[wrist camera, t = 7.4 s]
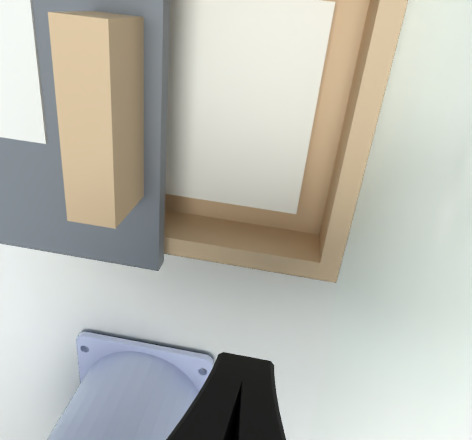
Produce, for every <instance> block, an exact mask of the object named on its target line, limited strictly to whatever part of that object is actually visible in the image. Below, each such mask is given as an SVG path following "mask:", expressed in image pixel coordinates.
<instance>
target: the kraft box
mask: <svg viewBox="0 0 472 440" xmlns="http://www.w3.org/2000/svg"><path fill="white" fill-rule="evenodd" d="M407 2H408V0H170V22H169V62H168V102H167V142H166V183H165V223H164V254H169V255H175V256H181V257H187V258H193V259H199V260H205V261H211V262H216V263H222V264H228V265H234V266H240V267H246V268H252V269H258V270H264V271H270V272H275V273H281V274H287V275H293V276H299V277H305V278H311V279H317V280H323V281H329V282H334V283H336V282H337V278H338V274H339V270H340V266H341V262H342V258H343V254H344V250H345V247H346V243H347V239H348V235H349V231H350V227H351V223H352V219H353V215H354V211H355V207H356V203H357V199H358V195H359V191H360V187H361V184H362V180H363V176H364V172H365V168H366V164H367V160H368V156H369V152H370V148H371V144H372V140H373V136H374V132H375V128H376V124H377V121H378V117H379V113H380V109H381V105H382V101H383V97H384V93H385V89H386V85H387V81H388V77H389V73H390V69H391V65H392V62H393V58H394V54H395V50H396V46H397V42H398V38H399V34H400V30H401V26H402V22H403V18H404V14H405V10H406V6H407Z"/></svg>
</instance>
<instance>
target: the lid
mask: <svg viewBox="0 0 472 440" xmlns="http://www.w3.org/2000/svg"><path fill="white" fill-rule="evenodd" d="M169 22H170V0H0V243H1V244H6V245H12V246H18V247H24V248H29V249H35V250H41V251H47V252H52V253H58V254H64V255H70V256H75V257H81V258H87V259H93V260H98V261H104V262H110V263H116V264H122V265H127V266H133V267H139V268H145V269H150V270H156V271H158V270H159V269H160V267H161V265H162V263H163V262H164V223H165V183H166V142H167V102H168V62H169Z"/></svg>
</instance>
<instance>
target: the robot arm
mask: <svg viewBox="0 0 472 440" xmlns="http://www.w3.org/2000/svg"><path fill="white" fill-rule="evenodd" d="M76 343H77V353H78V364H79V374H80V386H79V387H78V389H77V391H76V392H75V394H74V396H73V397H72V399H71V401H70V402H69V404H68V406H67V407H66V409H65V410H64V412H63V414H62V415H61V417H60V419H59V420H58V422H57V424H56V425H55V427H54V429H53V430H52V432H51V434H50V435H49V437H48V439H47V440H286V438H285V434H284V430H283V425H282V421H281V417H280V412H279V406H278V401H277V395H276V388H275V378H274V365H273V364H272V362H271V361H267V360H262V359H256V358H251V357H246V356H241V355H235V354H230V353H225V352H223V353H221V354H219V355H218V357H217V359H216V362H215V364H214V366H213V359H212V358H211V357H210V356H209V355H206V354H201V353H196V352H190V351H185V350H180V349H174V348H169V347H164V346H159V345H153V344H148V343H143V342H138V341H132V340H127V339H122V338H117V337H111V336H106V335H101V334H96V333H90V332H81V333H80V334H79V335H78V337H77V339H76ZM86 346H87V347H86ZM201 368H203V369H206V370H203V369H201Z"/></svg>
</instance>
